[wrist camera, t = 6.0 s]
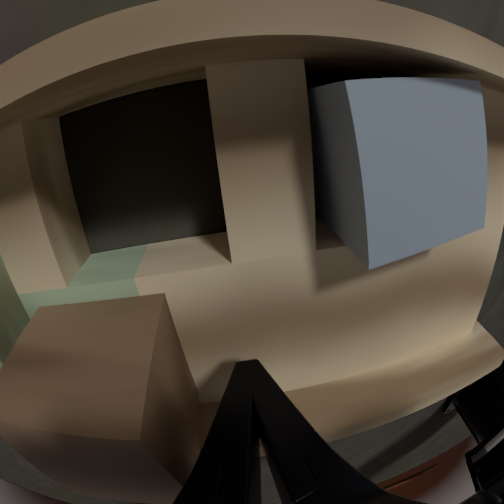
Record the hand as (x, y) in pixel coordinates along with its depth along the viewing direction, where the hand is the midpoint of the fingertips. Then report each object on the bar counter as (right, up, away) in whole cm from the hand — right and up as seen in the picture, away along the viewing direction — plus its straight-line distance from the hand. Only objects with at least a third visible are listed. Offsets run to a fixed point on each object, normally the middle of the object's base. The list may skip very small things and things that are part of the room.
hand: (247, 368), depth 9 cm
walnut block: (-5, 0, +1) cm, 5 cm away
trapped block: (+4, +8, +1) cm, 9 cm away
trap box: (+1, +4, +2) cm, 5 cm away
